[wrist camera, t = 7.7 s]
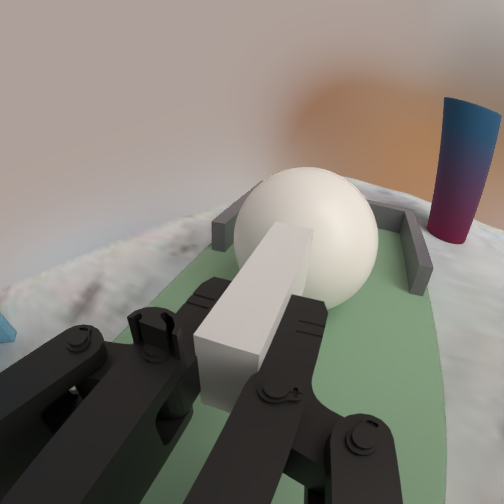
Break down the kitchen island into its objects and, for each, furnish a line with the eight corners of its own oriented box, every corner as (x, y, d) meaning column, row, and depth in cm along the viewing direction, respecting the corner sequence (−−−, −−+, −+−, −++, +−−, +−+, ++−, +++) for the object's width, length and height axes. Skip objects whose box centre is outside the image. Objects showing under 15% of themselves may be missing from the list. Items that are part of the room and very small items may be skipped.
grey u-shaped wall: (422, 296, 18) (433, 268, 17) (211, 249, 22) (211, 221, 21) (408, 231, 28) (413, 210, 26) (260, 201, 32) (261, 180, 31)
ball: (418, 292, 12) (397, 194, 17) (271, 191, 10) (294, 118, 16) (311, 354, 17) (322, 261, 22) (191, 295, 15) (231, 207, 21)
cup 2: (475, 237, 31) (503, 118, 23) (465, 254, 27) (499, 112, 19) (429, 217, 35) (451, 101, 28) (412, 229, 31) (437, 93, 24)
